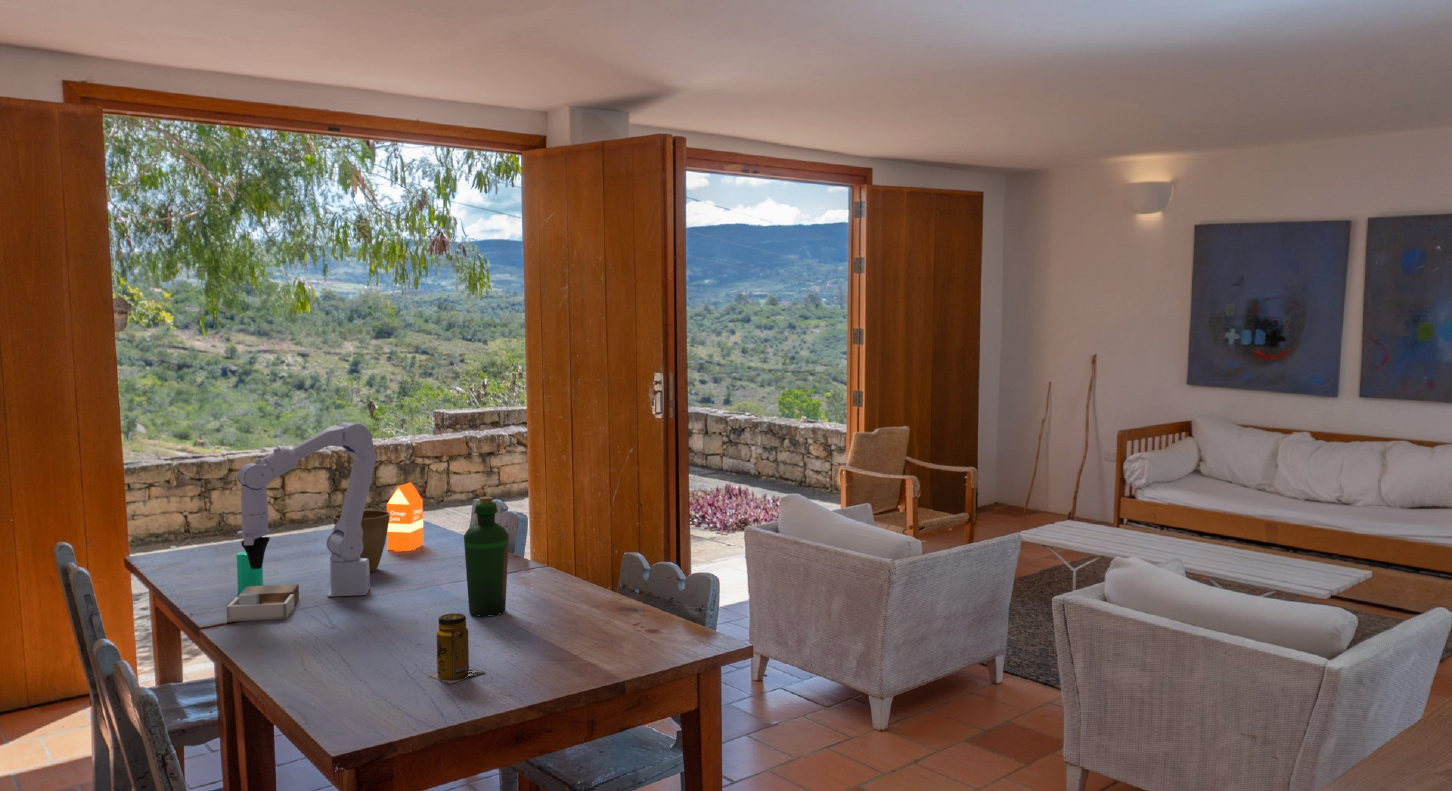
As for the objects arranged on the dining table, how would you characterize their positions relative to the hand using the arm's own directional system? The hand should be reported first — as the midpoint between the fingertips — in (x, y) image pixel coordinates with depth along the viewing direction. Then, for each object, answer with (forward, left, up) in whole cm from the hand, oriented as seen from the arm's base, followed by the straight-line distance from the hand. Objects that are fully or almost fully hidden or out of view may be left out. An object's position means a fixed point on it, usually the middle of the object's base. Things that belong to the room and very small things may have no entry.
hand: (256, 568), depth 244 cm
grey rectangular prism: (+1, +4, -7) cm, 8 cm away
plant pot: (-20, -34, -10) cm, 41 cm away
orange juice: (-29, -61, -10) cm, 69 cm away
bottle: (-55, +15, -10) cm, 58 cm away
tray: (-2, +7, -10) cm, 12 cm away
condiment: (-50, +58, -10) cm, 77 cm away
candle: (+5, -15, -10) cm, 19 cm away
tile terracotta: (-5, +8, -7) cm, 11 cm away
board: (-2, -2, -10) cm, 10 cm away
